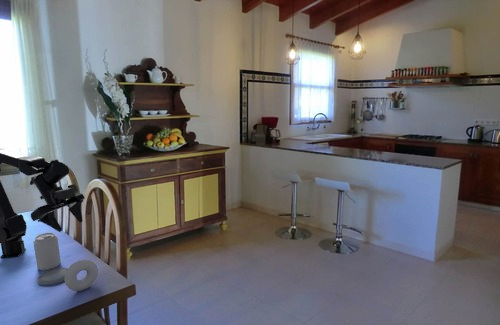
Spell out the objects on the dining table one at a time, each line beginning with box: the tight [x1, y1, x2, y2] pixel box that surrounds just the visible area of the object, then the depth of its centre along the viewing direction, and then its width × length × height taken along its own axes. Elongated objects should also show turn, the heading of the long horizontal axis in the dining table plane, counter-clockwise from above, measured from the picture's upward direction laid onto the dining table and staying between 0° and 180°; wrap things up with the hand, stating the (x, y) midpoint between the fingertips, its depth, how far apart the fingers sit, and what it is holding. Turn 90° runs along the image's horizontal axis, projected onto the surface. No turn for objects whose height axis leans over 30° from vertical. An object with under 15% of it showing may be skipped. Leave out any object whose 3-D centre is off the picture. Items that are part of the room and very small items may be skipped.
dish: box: [37, 267, 69, 287], centre depth 117 cm, size 10×10×1 cm
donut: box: [64, 258, 99, 292], centre depth 109 cm, size 10×4×10 cm, turn 136°
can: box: [32, 232, 61, 272], centre depth 124 cm, size 8×8×12 cm
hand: (71, 226), depth 122 cm, fingers open, 9 cm apart
